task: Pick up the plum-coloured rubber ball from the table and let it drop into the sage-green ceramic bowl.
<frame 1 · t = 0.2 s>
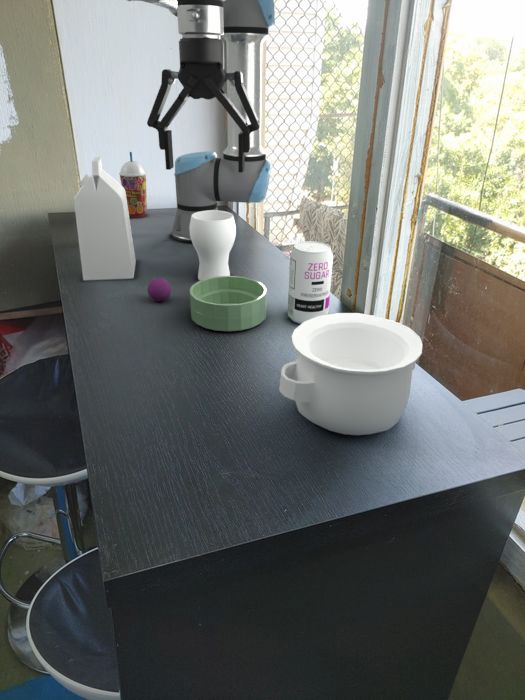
hand: (205, 169, 98), 28 cm above the table, tool pointing down, fingers open, 13 cm apart
milk: (110, 271, 129), on the table
cup: (214, 278, 125), on the table
pot: (347, 412, 79), on the table
ball: (160, 300, 113), on the table
smoothie: (136, 216, 174), on the table
bowl: (228, 316, 106), on the table
supplement can: (307, 318, 107), on the table
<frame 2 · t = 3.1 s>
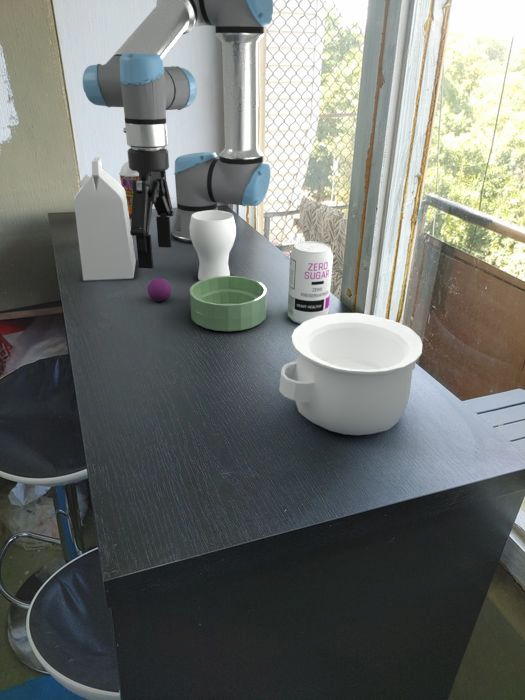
hand: (156, 256, 108), 10 cm above the table, tool pointing down, fingers open, 13 cm apart
nothing on the table moved.
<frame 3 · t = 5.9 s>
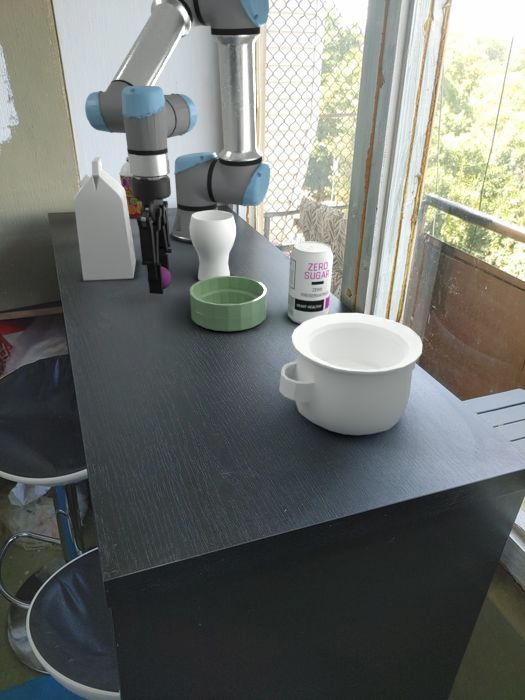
hand: (160, 287, 112), 3 cm above the table, tool pointing down, fingers closed on ball, 5 cm apart
ball: (160, 289, 112), point 3 cm above the table, touching gripper
everything else where it was.
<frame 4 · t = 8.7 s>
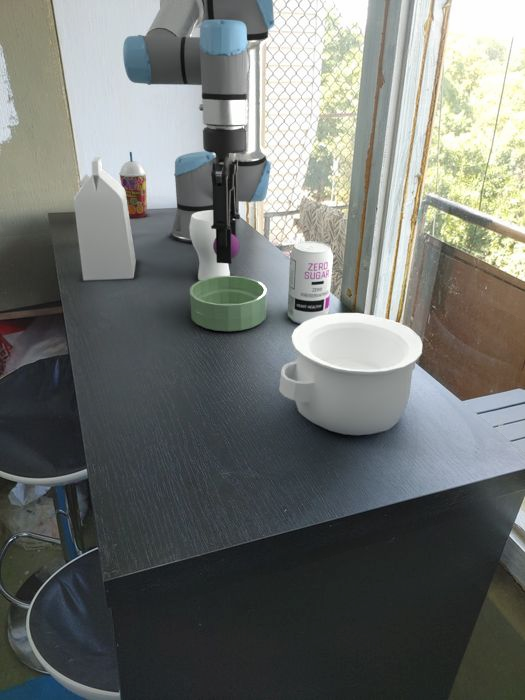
hand: (226, 257, 100), 13 cm above the table, tool pointing down, fingers closed on ball, 5 cm apart
ball: (226, 258, 100), point 12 cm above the table, touching gripper
everything else where it was.
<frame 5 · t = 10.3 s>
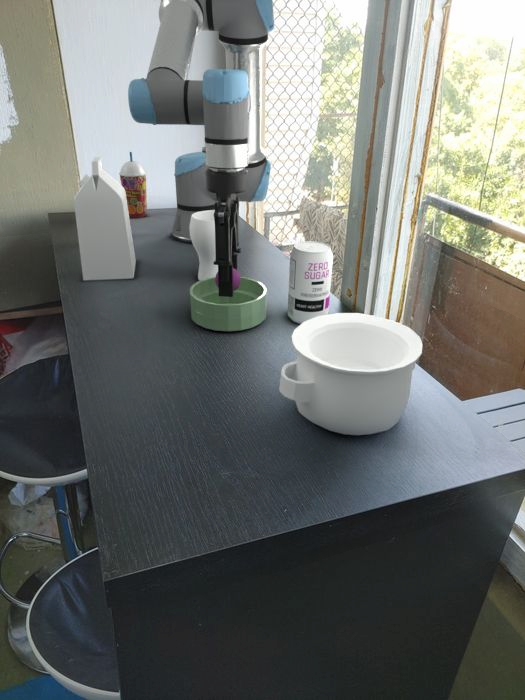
hand: (228, 290, 104), 6 cm above the table, tool pointing down, fingers closed on ball, 5 cm apart
ball: (228, 291, 104), point 6 cm above the table, touching gripper
everything else where it was.
when the fingers open (3 cm above the table, at t = 11.5 s): ball drops 2 cm, resting on bowl.
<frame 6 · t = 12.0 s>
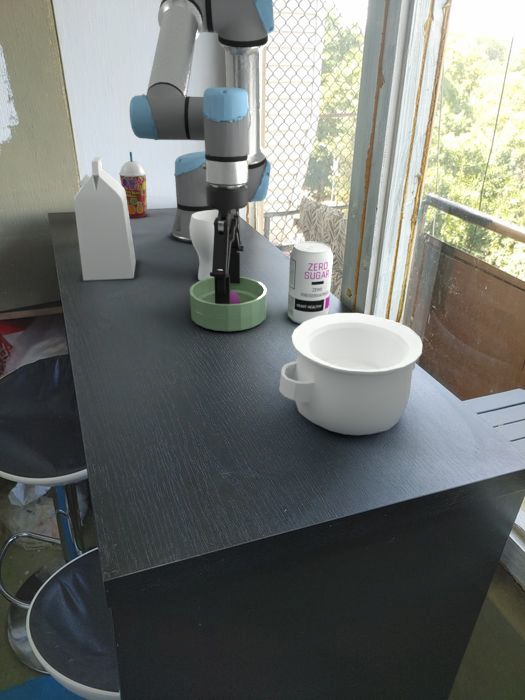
hand: (228, 294, 104), 5 cm above the table, tool pointing down, fingers open, 12 cm apart
ball: (228, 314, 106), point 1 cm above the table, touching bowl
everything else where it was.
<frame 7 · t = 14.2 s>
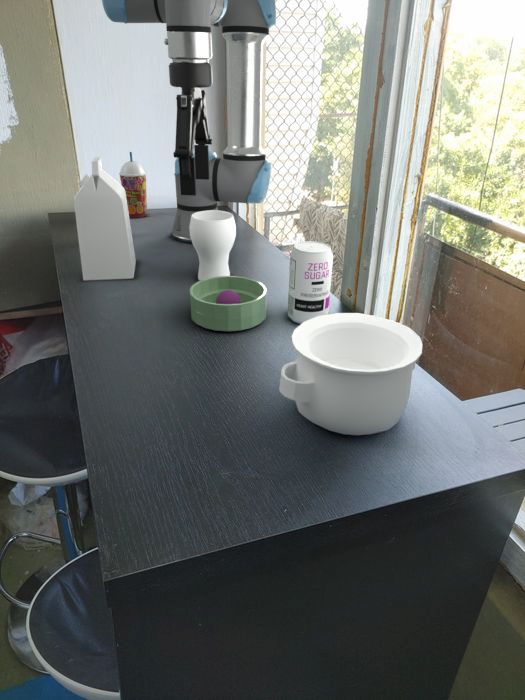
hand: (196, 186, 101), 24 cm above the table, tool pointing down, fingers open, 13 cm apart
nothing on the table moved.
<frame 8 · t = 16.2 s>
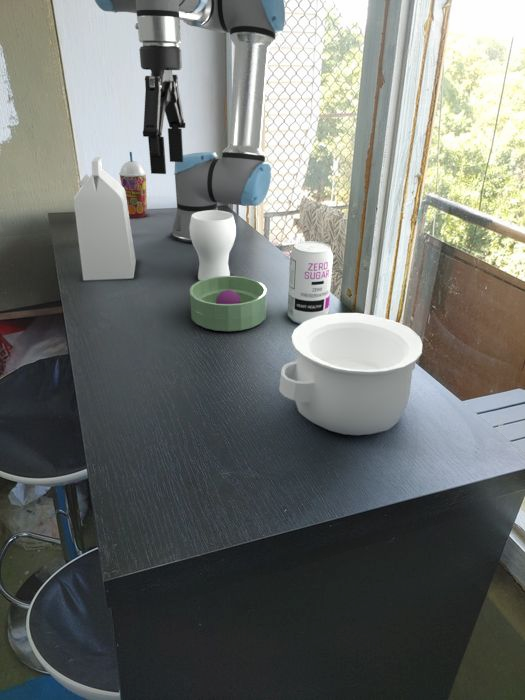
hand: (168, 167, 105), 27 cm above the table, tool pointing down, fingers open, 13 cm apart
nothing on the table moved.
at the end: ball inside the target area in the bowl (0.0 cm from its centre), point 0.6 cm above the bowl's base; the gripper is holding nothing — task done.
